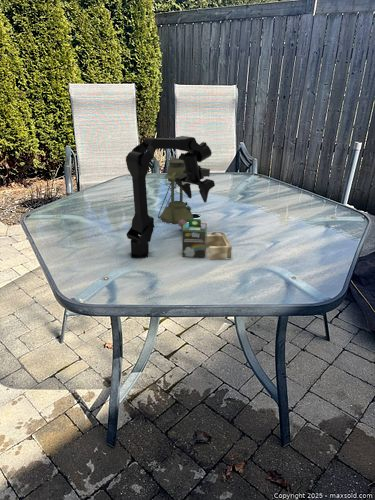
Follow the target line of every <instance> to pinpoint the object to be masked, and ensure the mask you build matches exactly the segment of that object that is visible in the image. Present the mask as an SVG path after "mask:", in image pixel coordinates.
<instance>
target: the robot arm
mask: <svg viewBox="0 0 375 500" xmlns="http://www.w3.org/2000/svg"><path fill="white" fill-rule="evenodd" d="M156 150H179V151H183V152H185V153H183V152H181V153H180V155H179V156H178V159H179V160H183V163H184V168H185V170H183V173H186V174H182V175H180V176H178V177H177V178H176V180H175V182H176V183H175V182H174V183H175V184H176V186H178V187H179V189H180V188H181V189H182V190H183V192H184V194H185V196H186V197H187V196H188V197H187V198H188V199H192V196H193V195H192V188H191V185H196V186H197V187H198V189H199V190H198V192H199V194H200V197H201V200H202V201H203V203H204V204H205V203H207V202H208V196H209V192H210V190H212V189H213V188H215V186H216V184H215V180H214V179H213V180H212V179H210V177H211V176H210V174H211V169H210V168H206V167H202V166H201V165H199V163H202V162H203V161H205V160H206V159H209V158H210V157H211V156H212V153H213V152H212V150H211V147H210V146H209V145H208V143H207V142H205V141H202V142H201V143H198V141H197V140H196V137H194V136H186V135H180V136H176V137H175V138H174V137H173V138H166V137H165V138H163V137H161V138H160V137H159V138H158V137H150V136H149V137H145V138H144V139H143V140H142V142H141V143H139V144H138V145H136V146H135V147H134V148H133V149H132V150H131V151H129V152H128V153H127V155H126V156H125V163H126V167H127V170H128V172H129V174H130V177H131V180H132V192H133V194H132V195H133V206H134V215H133V217H132V220H131V226H130V228H129V229H128V231H127V232H126V238H127V239H128V240H130V251H131V252H130V258H134V259H135V258H137V259H138V258H148V255H149V254H150V247H149V245H150V244H149V242H151V239H152V235H153V233H154V229H155V228H156V227H155V224H154V223H155V218H154V217H153V216H150V215H149V210H148V194H147V179H146V177H147V174H148V172H149V171H150V162H152V161H153V159H154V156H155V154H156ZM205 177H209V178H205ZM203 179H204V180H203Z"/></svg>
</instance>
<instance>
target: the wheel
mask: <svg viewBox="0 0 375 500" xmlns="http://www.w3.org/2000/svg"><path fill="white" fill-rule="evenodd" d="M219 234H225V233H224V232H222V231H220V232H219V231H214V232H211V234H210V235H219Z"/></svg>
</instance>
